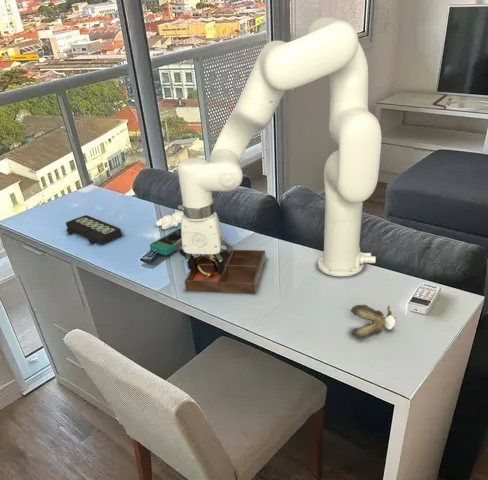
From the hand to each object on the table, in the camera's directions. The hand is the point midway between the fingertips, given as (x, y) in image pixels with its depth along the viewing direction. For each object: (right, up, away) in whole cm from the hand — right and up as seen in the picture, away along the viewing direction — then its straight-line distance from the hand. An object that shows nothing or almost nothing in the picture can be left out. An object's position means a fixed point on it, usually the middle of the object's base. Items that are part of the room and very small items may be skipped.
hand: (206, 271), depth 132 cm
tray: (+5, 0, +5) cm, 7 cm away
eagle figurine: (+39, -16, -21) cm, 47 cm away
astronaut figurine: (-15, +21, +37) cm, 45 cm away
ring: (0, -2, +1) cm, 2 cm away
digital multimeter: (-12, +11, +22) cm, 27 cm away
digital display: (-42, +16, +34) cm, 56 cm away
